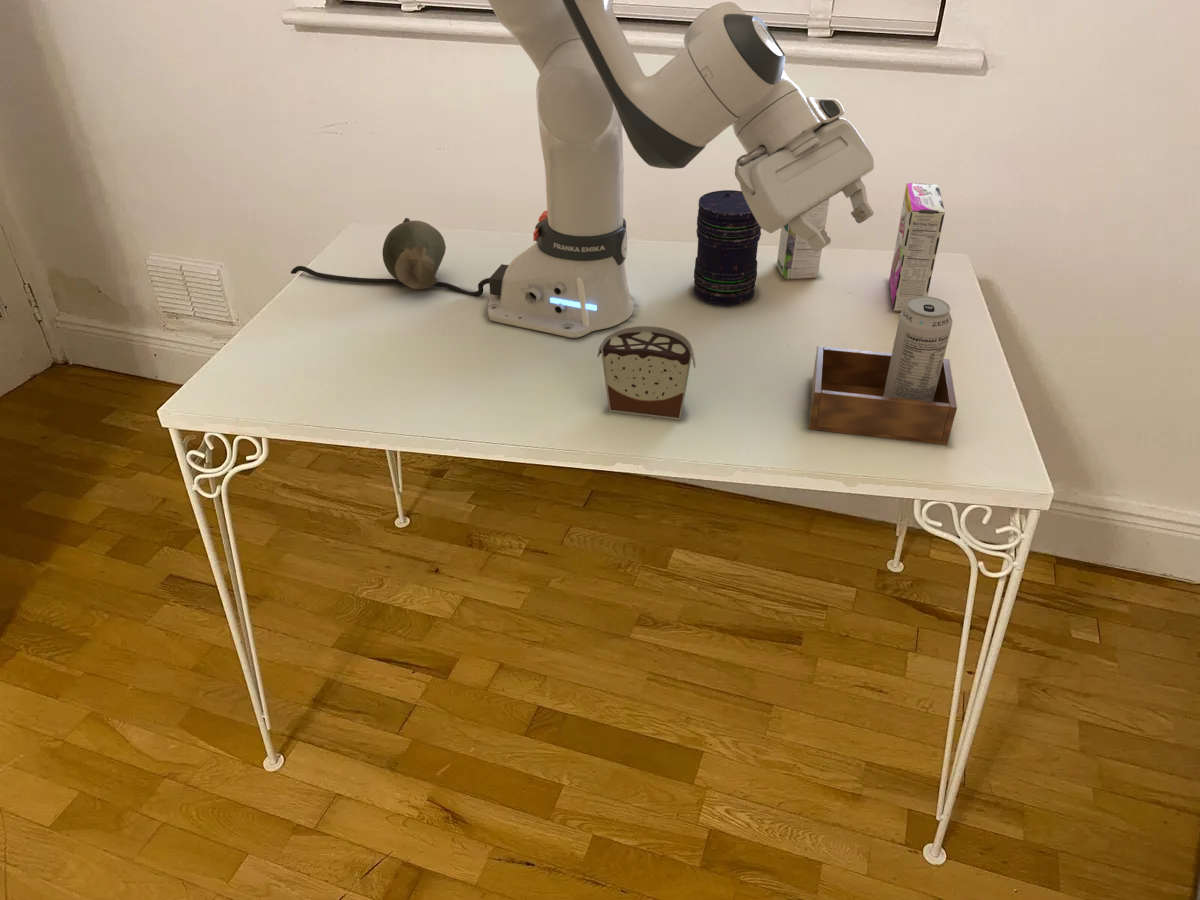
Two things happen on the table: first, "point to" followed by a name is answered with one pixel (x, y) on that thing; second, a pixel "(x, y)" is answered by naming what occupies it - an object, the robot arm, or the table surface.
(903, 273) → the candy bar box
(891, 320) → the table surface
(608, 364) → the food container
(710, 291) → the blue barrel
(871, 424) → the wooden tray
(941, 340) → the energy drink can
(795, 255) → the syrup box
